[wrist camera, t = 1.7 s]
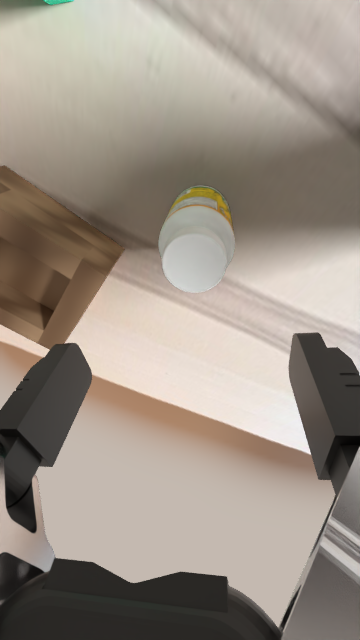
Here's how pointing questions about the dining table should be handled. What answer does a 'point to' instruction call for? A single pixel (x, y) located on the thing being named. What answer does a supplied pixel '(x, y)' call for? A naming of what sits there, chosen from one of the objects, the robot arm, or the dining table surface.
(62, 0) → the candle
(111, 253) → the walnut tray
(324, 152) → the dining table surface
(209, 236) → the supplement bottle
